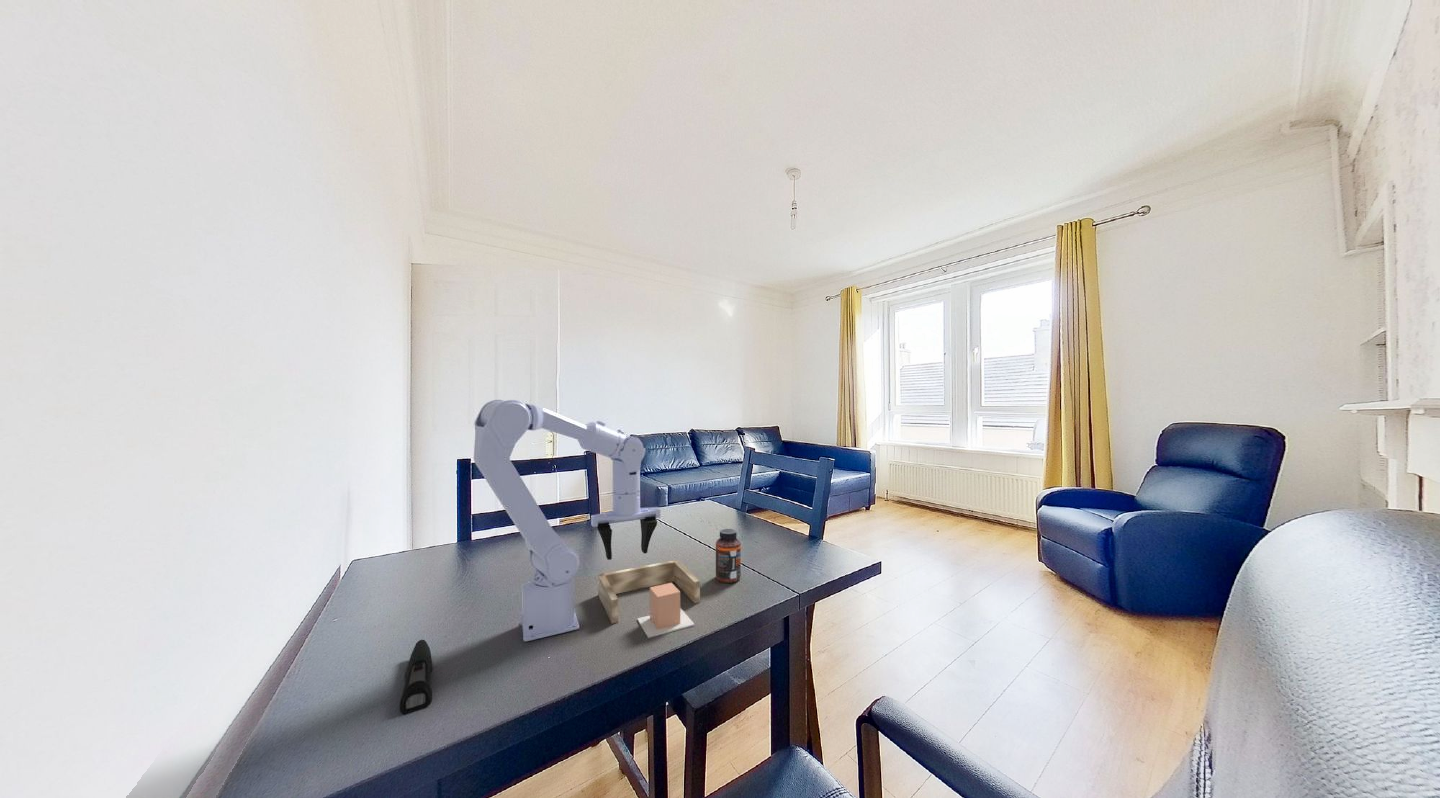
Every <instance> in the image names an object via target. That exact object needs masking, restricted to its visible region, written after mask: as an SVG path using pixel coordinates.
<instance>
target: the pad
mask: <svg viewBox="0 0 1440 798" xmlns="http://www.w3.org/2000/svg"><path fill="white" fill-rule="evenodd" d="M636 620H637V622H638V624H639V626H640V627H641V628H642V630H643V631H644V633H645V635H646V637H647V638H648V639H650V638H653V637H658V636H661V635H665V634H669V633H672V632H676V631H680V630H683V629H688V628H691V627H694V626H695V623H694V622H693V621H692V619H691V618H690V617H689V616H688V614H686V613H685V611H684V610H683V608H681V607H680V624H676V625H672V626H669V627H665V628H661V629H657V628H656V626H655V625H654V623H653V622H652V620H651V619H650V614H649V615H646V616H642V617H638V618H636Z"/></svg>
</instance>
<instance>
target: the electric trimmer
mask: <svg viewBox="0 0 1440 798" xmlns="http://www.w3.org/2000/svg"><path fill="white" fill-rule="evenodd" d="M431 653H432V652H431V647H430V646H429V644H428V643H427V641H426V640H425V639H420V640H418V641H417V642H416V643H415V645H414V647H413V649H412V652H411V654H410V658H409V660H408V664H407V666H406V670H405V673H404V678H405V682H404V687H403V691H402V695H401V697H400V701H399V711H400V713H401V714H403V715H408V714H411V713H414V712H417V711H421V710H424V709H426V708H428V707H429V705H430V704H431V703H432V699H433V689H432V687H431V673H432V672H433V669H434V666H433V660H432V659H433V658H432V655H431Z"/></svg>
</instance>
